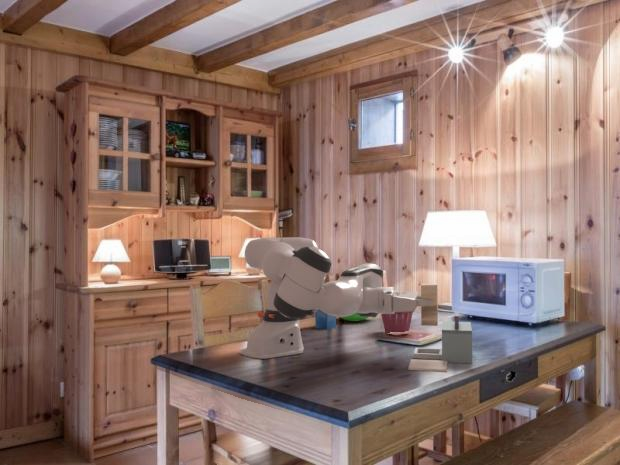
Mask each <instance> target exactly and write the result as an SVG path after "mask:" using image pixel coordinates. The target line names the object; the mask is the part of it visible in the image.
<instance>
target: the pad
mask: <svg viewBox="0 0 620 465" xmlns="http://www.w3.org/2000/svg"><path fill="white" fill-rule="evenodd" d="M408 371H423V372H424V371H425V372H445V373H447V372H448V362H447V361H442V359H420V358H412V359H410V362H409V364H408Z"/></svg>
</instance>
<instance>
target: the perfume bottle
mask: <svg viewBox="0 0 620 465" xmlns="http://www.w3.org/2000/svg"><path fill="white" fill-rule="evenodd" d="M335 328H337V316H332V315H329V314H326V313H325V312H323V311H321V310H319V309H317V310H316V311H315V329H321V330H329V329H330V330H331V329H335Z"/></svg>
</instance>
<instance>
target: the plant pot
mask: <svg viewBox="0 0 620 465" xmlns="http://www.w3.org/2000/svg"><path fill="white" fill-rule="evenodd" d="M414 312H415V311H408V312H395V313H394V314H380V315H381V320H382V323H383V328H384V333H385V334H386V333H390V332H405V331H409V332H410V327H411V324H412V317H413V313H414Z"/></svg>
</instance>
